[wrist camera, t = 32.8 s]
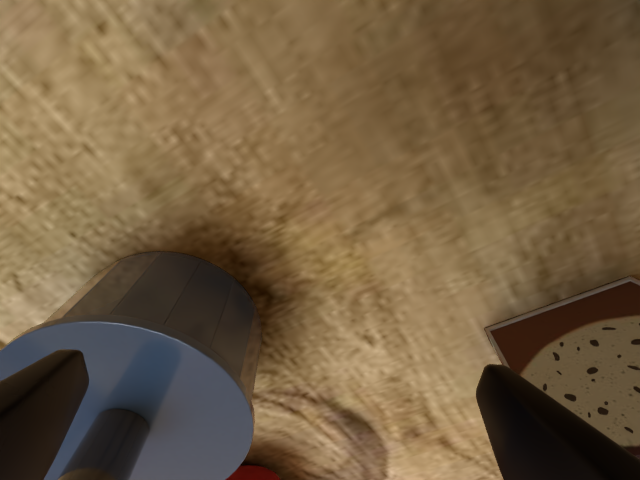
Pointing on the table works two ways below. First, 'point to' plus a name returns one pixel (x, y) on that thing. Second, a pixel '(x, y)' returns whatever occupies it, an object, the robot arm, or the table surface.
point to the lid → (143, 401)
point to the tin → (178, 304)
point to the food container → (583, 356)
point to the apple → (253, 473)
